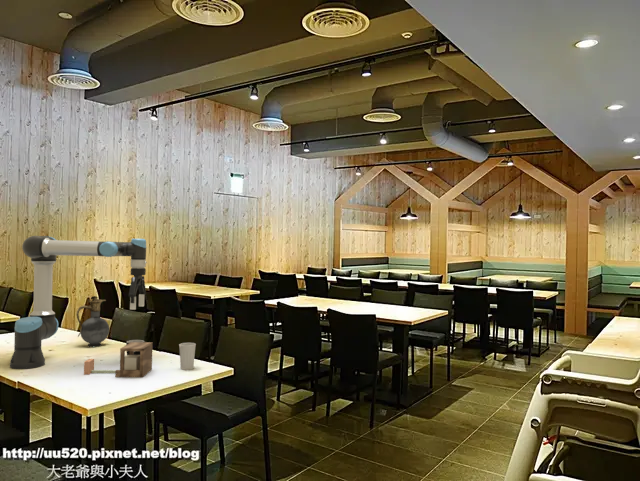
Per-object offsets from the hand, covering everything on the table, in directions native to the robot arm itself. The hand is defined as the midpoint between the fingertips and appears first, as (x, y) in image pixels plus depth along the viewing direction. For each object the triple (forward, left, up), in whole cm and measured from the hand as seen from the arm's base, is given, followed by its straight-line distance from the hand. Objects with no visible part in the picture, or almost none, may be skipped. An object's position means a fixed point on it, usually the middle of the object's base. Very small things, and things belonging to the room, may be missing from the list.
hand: (137, 308), depth 266 cm
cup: (+30, -17, -28) cm, 44 cm away
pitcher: (-37, +37, -28) cm, 60 cm away
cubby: (+7, -27, -28) cm, 39 cm away
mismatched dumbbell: (-3, -27, -28) cm, 39 cm away
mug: (+1, 0, -28) cm, 28 cm away
